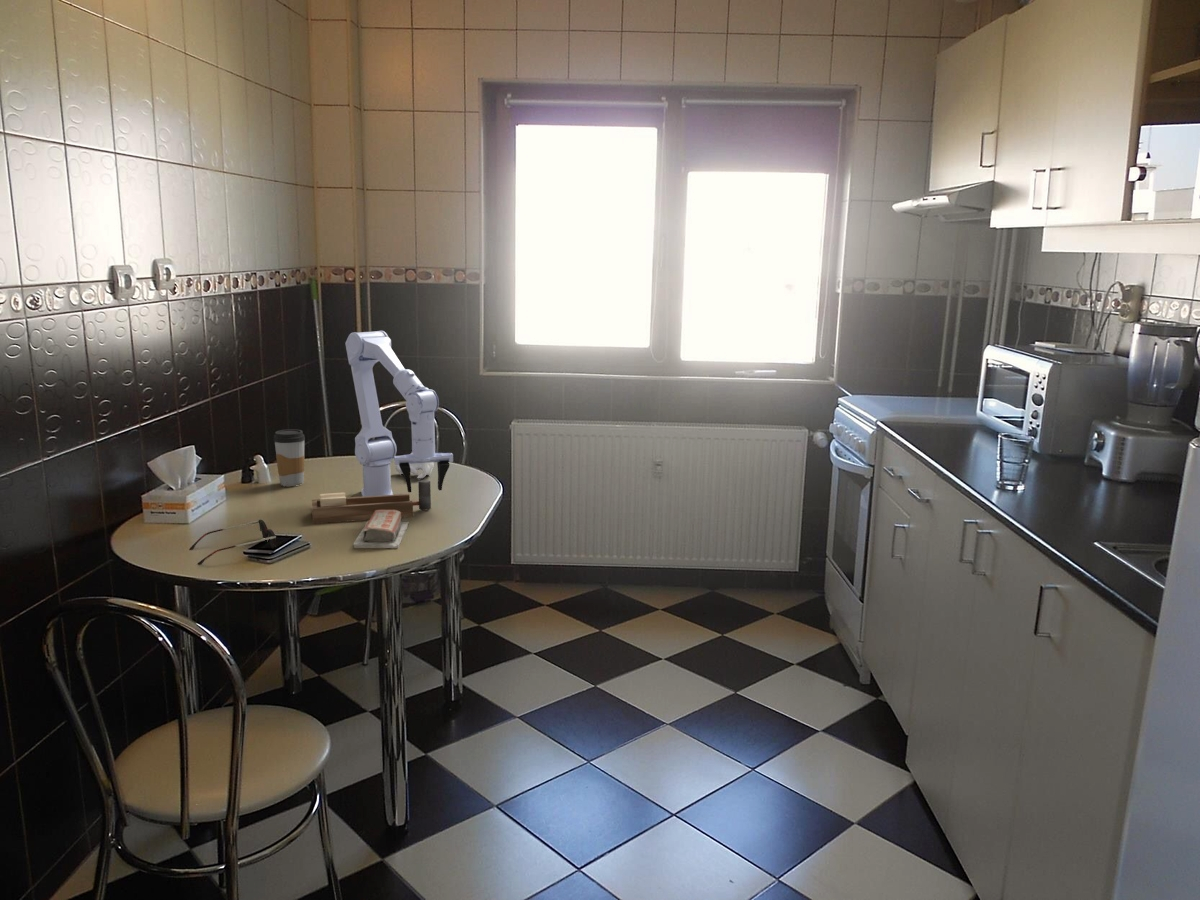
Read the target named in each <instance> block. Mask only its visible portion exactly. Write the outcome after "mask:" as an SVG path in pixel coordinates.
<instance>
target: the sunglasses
mask: <svg viewBox="0 0 1200 900" xmlns="http://www.w3.org/2000/svg"><path fill="white" fill-rule="evenodd" d="M253 524H255V525H256V524H258V525H259V531H260V532H261V535H262V538H261V539H258V540H254V541H249V542H244V543H241V544H237V545H232V546H231V545H230V546H228V547H222V548H219V549H217V550H214V551H213V552H211V553H210V554H208V555H206V556H205V557H204V558H202V559H201V560H200V561H199V562H197V565H202V564H203V563H204V562H205V561H206V560H208V559H209V558H210V557H211V556H213V555H214V554H216V553H217V552H218V553H219V552H221V551H224V550H230V549H233V548H238V547H243V546H247V545H250V544H251V545H252V544H254V543H258V542H265V540H267V541H268V540H269V539H270V540H271V541H272V543H273V545H275V546H277V540H276V539H277V535H276V534H275V532H274V531H273V530H272V529H269V528H268V526H267V524H266V522H265V521H264V520H263V519H258V520H256V521H250V522H248V523H247V522H246V523H244V524H239V525H234V526H229V527H225V528H220V529H215V530H212V531H211V530H210V531H208V532H206V533H204V534H203V535H201V537H199V539H197V540H196V541H195V542H194V544H192V546H191V547H190V548H189V549H188V550H189V551H193V550H194V548H195V547H196V545H197V544H198V543H199V542H201V540H203V538H204V537H206V536H207V535H210V534H212V533H213V534H214V533H217V532H222V531H226V530H230V529H235V528H240V527H244V526H248V525H253ZM263 538H265V539H263Z"/></svg>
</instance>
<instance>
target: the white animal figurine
mask: <svg viewBox="0 0 1200 900" xmlns="http://www.w3.org/2000/svg"><path fill="white" fill-rule="evenodd" d="M410 454H412V452H411V453H410ZM434 464H435V462H430V463H413V464H409V465H410V468H411V470H410V474H411V473H412V474H414V475H418V476H417V477H416V479H417V478H422V479H425V477H427V476H426V475H429V476H430V475H431V473H432V471H433V469H434V466H435V465H434ZM394 465H395V464H394ZM394 467H395V470H396V471H397V473H398V474H399V476H402V475H401V474H403V472H402V470H401V469H400V466H399V465H395V466H394ZM419 470H421V471H422V472H421V473H419V472H418V471H419ZM418 473H419V474H418Z"/></svg>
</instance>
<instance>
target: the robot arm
mask: <svg viewBox="0 0 1200 900" xmlns="http://www.w3.org/2000/svg"><path fill="white" fill-rule="evenodd" d="M344 343H345V349H346V354H347V359H348V365H349V366H350V368H351V375H352V380H353V384H354V390H355V396H356V401H357V406H358V407H357V408H358V411H359V417H360V418H359V419H360V422H361V430H360V431H359V432H358V434H357V435H356V436H355V437H354V442H355V447H354V455H355V457H356V460H357V461H358V463H359V465H362V480H363V481H362V484H363V486H362V487H363V488H362V489H360V492H361V497H364V496H380V495H394V493H393V490H392V483H391V481H392V480H391V478H392V477H391V463H394V465H399V466H400V469H401V470H402V472H403V475H402V476H403V477H404V480H405V483H406V487H407V493H412V484H411V472H410V470H411V468H410V465H409V464H413V463H430V462H434V463H436V464H437V489H438V491H442V490H443V485H444V481H445V480H444V479H445V477H446V474H447V473H448V470H449V468H450V463H453V462H454V454H453V453H452V452H436V435H435V434H436V432H435V431H436V430H435V427H436V426H435V413H436V412H437V411H438V409H439V407H440V401H439V396H438V395H437V393H436V391H435V390H433V389H429V388H428V387H426V386H424V385H423V383H422V382H421V380H420V379H419V377H417V375H416V374H415V372H414V371H413V370H412V369H408V368H407V369H406V368H405V367H404V366H403V364H402V363H401V361H400V359H399V358H398V356H397V354H396V353H395V352H394V350H393V349H392V339H391V338H390V337H389V335H388V333H387V332H385V331H384V330H377V331H363V332H362V331H361V332H360V331H359V332H356V331H355V332H351V333H350V334H348V337H347V339H346V341H345V342H344ZM378 362H380V364H381V365H382V366H383V367H384V368H385V369H386V370H387V371H388V373H389V374H391V376H392V377H393V380H392V383H393V386H394V387H395V388H396V389H397V391H398V392H399V393H400V395H402V397H403V398H404V400H405V409H406V411H407V413H408V419H409V421H410V423H411V428H410V429H411V450H412V451H411V453H412V454H411V453H410V454H402V455H397V452H398V451H397V448H398V447H397V444H396V442H395V439H394V438H393V434H392V431H391V430H389V429H388V428H386V427H385V426H384V425H383V421H382V416H381V415H382V414H381V411H380V410H381V409H380V404H379V399H378V393H377V388H376V383H375V378H374V372H373V367H374V366H375V364H377V363H378ZM373 438H376V439H373ZM393 460H394V461H393Z"/></svg>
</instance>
